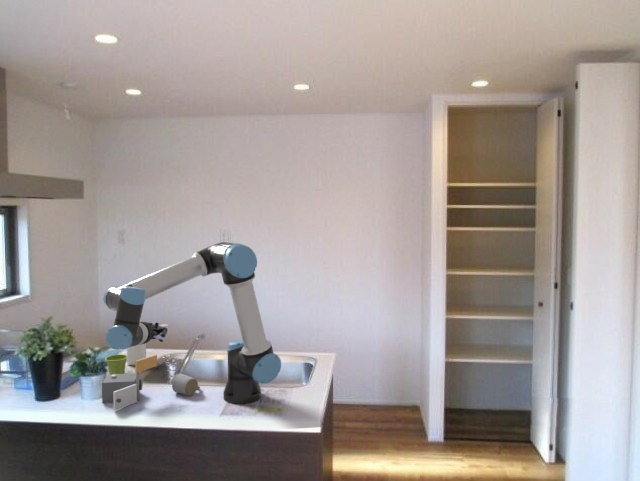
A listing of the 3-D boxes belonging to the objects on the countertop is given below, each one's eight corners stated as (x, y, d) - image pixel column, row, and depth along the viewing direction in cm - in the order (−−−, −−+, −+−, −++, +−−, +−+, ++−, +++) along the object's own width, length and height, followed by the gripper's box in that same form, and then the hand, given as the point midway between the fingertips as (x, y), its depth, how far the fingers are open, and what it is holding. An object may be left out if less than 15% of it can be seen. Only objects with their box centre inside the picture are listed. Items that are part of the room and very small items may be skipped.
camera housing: (143, 391, 208) (143, 371, 207) (138, 401, 198) (138, 379, 197) (108, 393, 206) (108, 372, 205) (102, 402, 196) (101, 380, 195)
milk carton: (146, 360, 250) (145, 323, 249) (142, 365, 243) (141, 326, 242) (131, 360, 250) (131, 323, 249) (127, 365, 243) (126, 326, 242)
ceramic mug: (186, 398, 201) (186, 379, 201) (171, 394, 205) (171, 376, 205) (204, 391, 210) (204, 372, 210) (190, 387, 214) (190, 369, 214)
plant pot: (114, 381, 221) (114, 361, 220) (101, 377, 225) (100, 358, 225) (132, 375, 229) (132, 356, 228) (118, 371, 234) (118, 353, 233)
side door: (155, 393, 205) (155, 354, 204) (159, 394, 204) (158, 355, 203) (113, 410, 188) (112, 368, 187) (116, 411, 187) (116, 368, 186)
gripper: (116, 336, 169) (147, 330, 193) (150, 351, 168) (177, 343, 191) (125, 315, 170) (154, 312, 193) (159, 330, 168) (184, 325, 192)
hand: (165, 327), depth 192 cm, fingers closed
